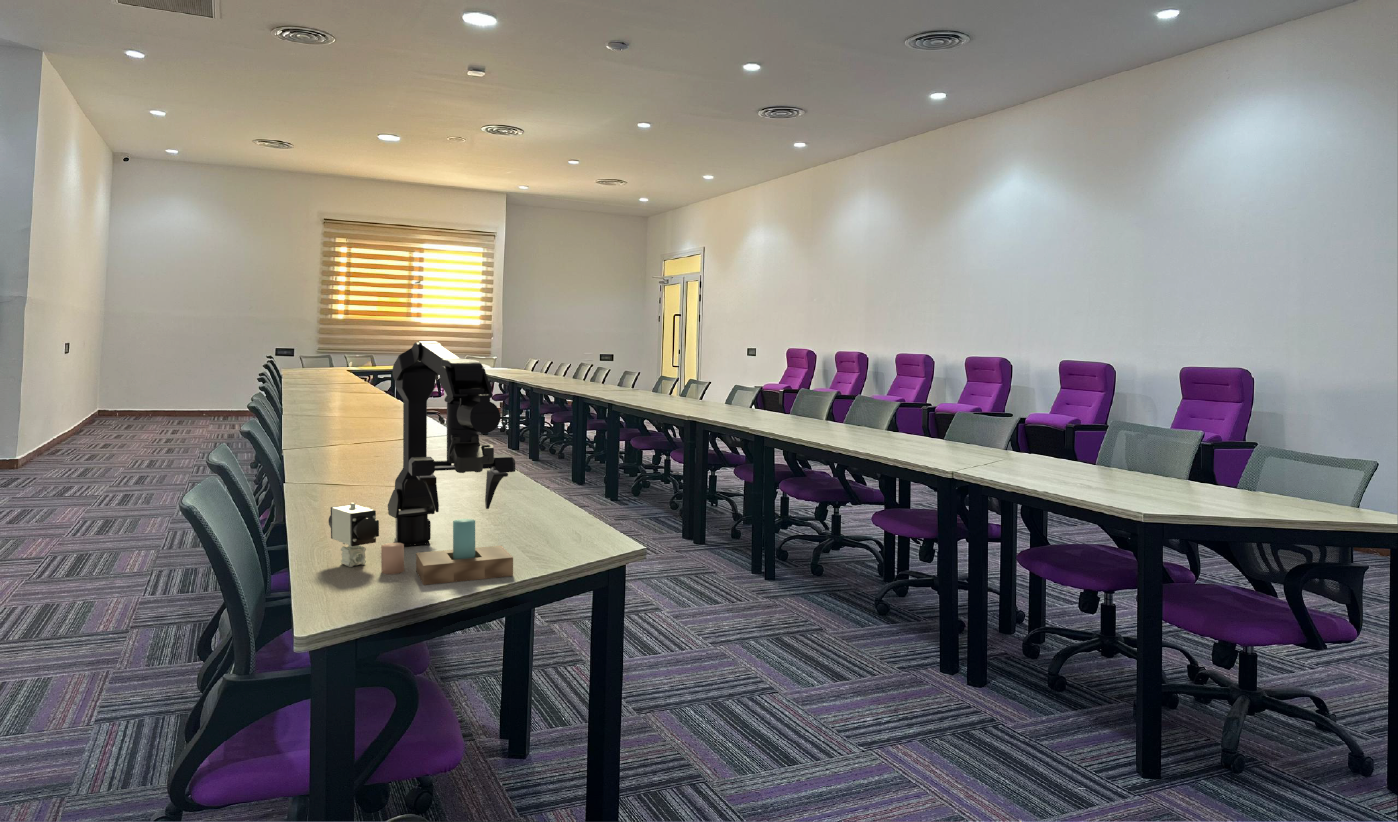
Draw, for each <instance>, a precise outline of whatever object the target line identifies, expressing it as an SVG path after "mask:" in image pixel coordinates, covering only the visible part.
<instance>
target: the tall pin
mask: <svg viewBox="0 0 1398 822" xmlns="http://www.w3.org/2000/svg"><path fill="white" fill-rule="evenodd" d="M475 548H476V520H475V519H474V518H459V519H458V518H457V519H454V520H452V550H453V560H456V559H467V558H475Z"/></svg>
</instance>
